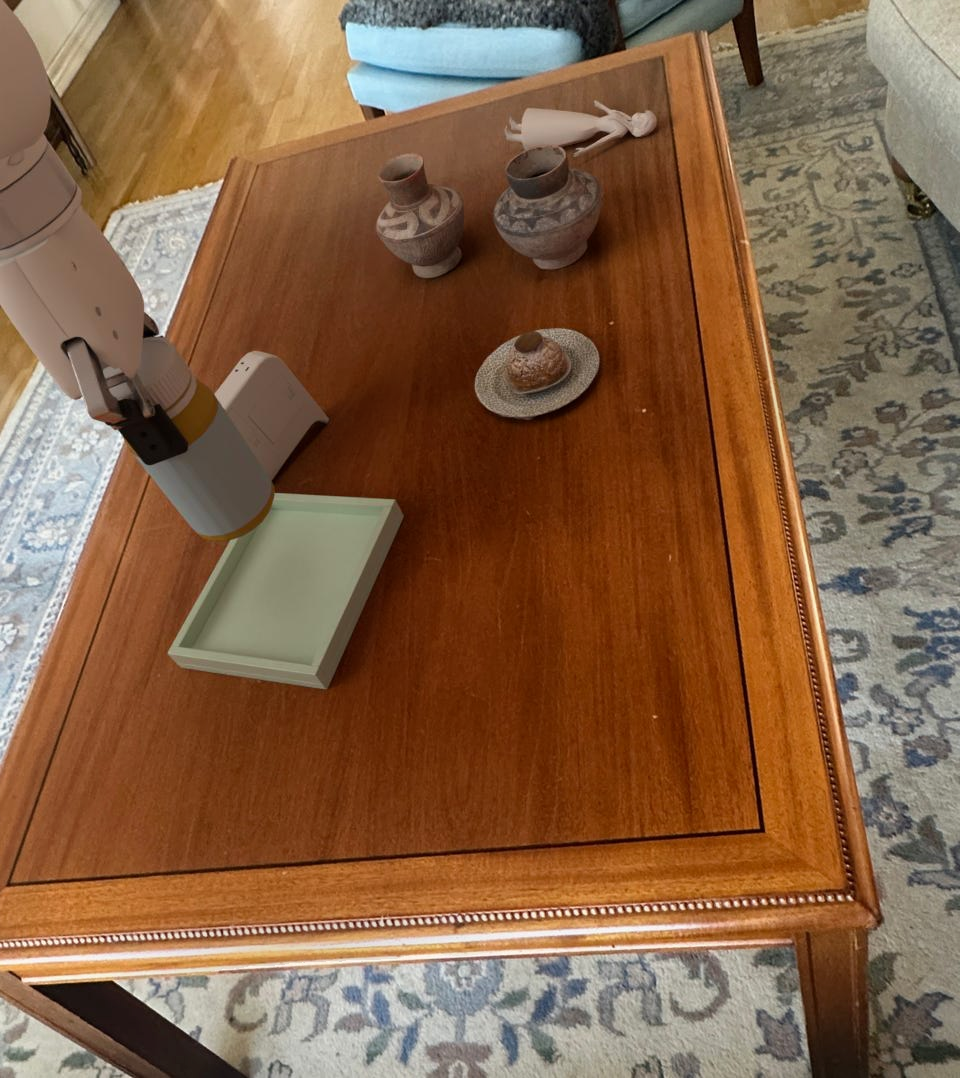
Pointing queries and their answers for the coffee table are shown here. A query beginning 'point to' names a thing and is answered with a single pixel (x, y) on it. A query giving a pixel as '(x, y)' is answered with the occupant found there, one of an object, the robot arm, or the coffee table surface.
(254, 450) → the light grey boxy piece
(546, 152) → the pottery
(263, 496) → the bottle
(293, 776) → the coffee table surface
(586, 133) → the woman figurine
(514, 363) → the pastry
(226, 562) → the tray
